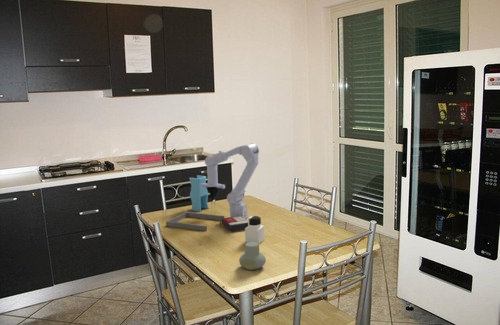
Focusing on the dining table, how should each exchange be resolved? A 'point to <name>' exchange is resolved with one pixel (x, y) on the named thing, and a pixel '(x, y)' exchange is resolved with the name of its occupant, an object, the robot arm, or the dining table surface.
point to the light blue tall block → (198, 193)
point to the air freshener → (252, 257)
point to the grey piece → (174, 223)
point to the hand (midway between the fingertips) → (213, 199)
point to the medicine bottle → (254, 230)
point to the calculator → (235, 223)
